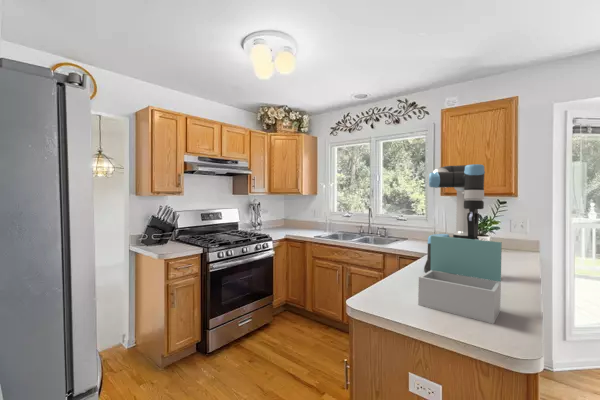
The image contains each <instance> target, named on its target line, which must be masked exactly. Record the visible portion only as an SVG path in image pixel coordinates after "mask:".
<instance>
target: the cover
mask: <svg viewBox="0 0 600 400" xmlns="http://www.w3.org/2000/svg"><path fill="white" fill-rule="evenodd" d="M430 235H431V270H434V271H440V272H446V273H452V274H457V275H463V276H469V277H474V278H480V279H486V280H492V281H498V282H501V283H502V255H503V253H502V251H503V250H502V247H503V245H502V242H501V241H493V240H492V241H491V240H484V239H483V240H481V239H479V240H473V239H463V238H452V237H453V236H449V237H442V236H432V235H433V234H430Z"/></svg>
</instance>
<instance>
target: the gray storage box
mask: <svg viewBox="0 0 600 400" xmlns="http://www.w3.org/2000/svg"><path fill="white" fill-rule="evenodd" d="M501 289H502V281H501V282H499V281H493V280H487V279H481V278H475V277H469V276H463V275H458V274H451V273H445V272H439V271H434V270H430V271H429V272H427V273H426V272H424V273H423V274H422V275H420V276H418V294H417V295H418V296H417V297H418V301H417V305H418V306H420V307H426V308H430V309H433V310H437V311H442V312H445V313H449V314H454V315H457V316H461V317H464V318H469V319H473V320H477V321H481V322H485V323H489V324H492V325H494V324H495V322H496V320H497V318H498V316H499V314H500V312H501V296H502V295H501V291H502V290H501Z"/></svg>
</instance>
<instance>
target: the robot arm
mask: <svg viewBox="0 0 600 400" xmlns="http://www.w3.org/2000/svg"><path fill="white" fill-rule="evenodd" d="M484 165H485V164H484ZM484 165H483V164H478V163H477V164H467V165H465V164H461V165H447V166H446V165H444V166H440V167H438V168H436V169H434V170H433V172H430V173H429V174H428V186H429V188H436V189H438V188H454V190H455V191H456V214H455V215H456V217H455V219H456V221H455V223H456V224H455V226H456V227H455V232H454V233H452V236H451V237H452V238H463V239H473V240H480V239H479V238H480V237H479V234H478V233H479V220H480V213H479V210H483V209H484V206H485V205H484V204H485V201H484V199H485V173H486V172H485V166H484ZM431 235H432V236H442V237H450V234H449V233H436V234H435V233H433V234H430V235H429V236H428V237H427V242H426V244H427V254H426V255H427V257H426V258H427V259H426V261H425V264H424V266H423V272H424V273H427V272H429V271H430V270H431Z"/></svg>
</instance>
